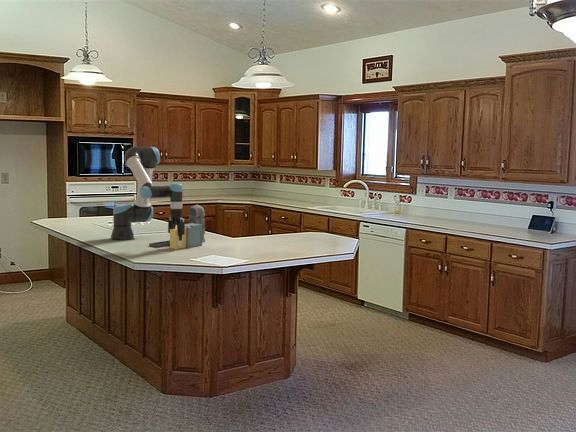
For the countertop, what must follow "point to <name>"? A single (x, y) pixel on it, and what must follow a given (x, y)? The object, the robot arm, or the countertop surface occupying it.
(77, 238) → the countertop surface
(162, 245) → the tray
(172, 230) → the yellow tall slab
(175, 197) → the robot arm
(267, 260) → the countertop surface
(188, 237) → the dispenser
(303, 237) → the countertop surface
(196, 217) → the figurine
